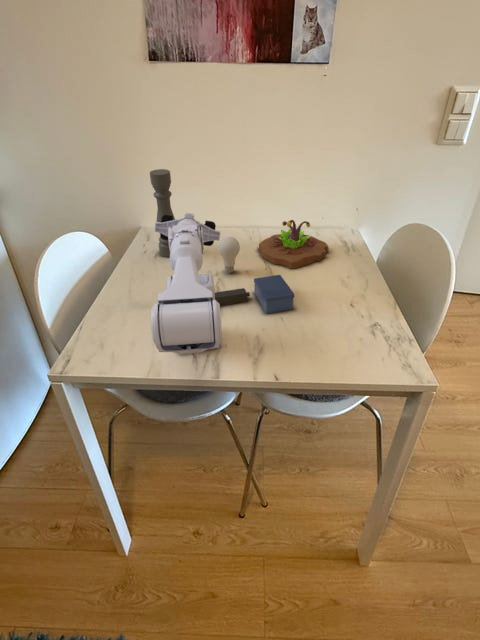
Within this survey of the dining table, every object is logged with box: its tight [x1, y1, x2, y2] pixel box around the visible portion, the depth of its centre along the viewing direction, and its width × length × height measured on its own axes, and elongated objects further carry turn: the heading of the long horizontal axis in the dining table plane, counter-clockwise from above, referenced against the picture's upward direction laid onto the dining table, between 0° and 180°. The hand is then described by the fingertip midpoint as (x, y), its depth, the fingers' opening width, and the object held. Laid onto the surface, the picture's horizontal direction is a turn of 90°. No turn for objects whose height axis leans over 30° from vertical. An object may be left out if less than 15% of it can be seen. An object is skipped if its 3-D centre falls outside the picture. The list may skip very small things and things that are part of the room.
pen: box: [214, 287, 251, 307], centre depth 105 cm, size 12×3×3 cm, turn 106°
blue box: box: [253, 274, 296, 314], centre depth 105 cm, size 10×7×4 cm
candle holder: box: [149, 168, 176, 258], centre depth 122 cm, size 6×6×25 cm
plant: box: [258, 219, 329, 270], centre depth 125 cm, size 20×20×11 cm
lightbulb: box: [217, 235, 241, 274], centre depth 115 cm, size 6×6×11 cm
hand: (188, 227), depth 100 cm, fingers open, 7 cm apart
